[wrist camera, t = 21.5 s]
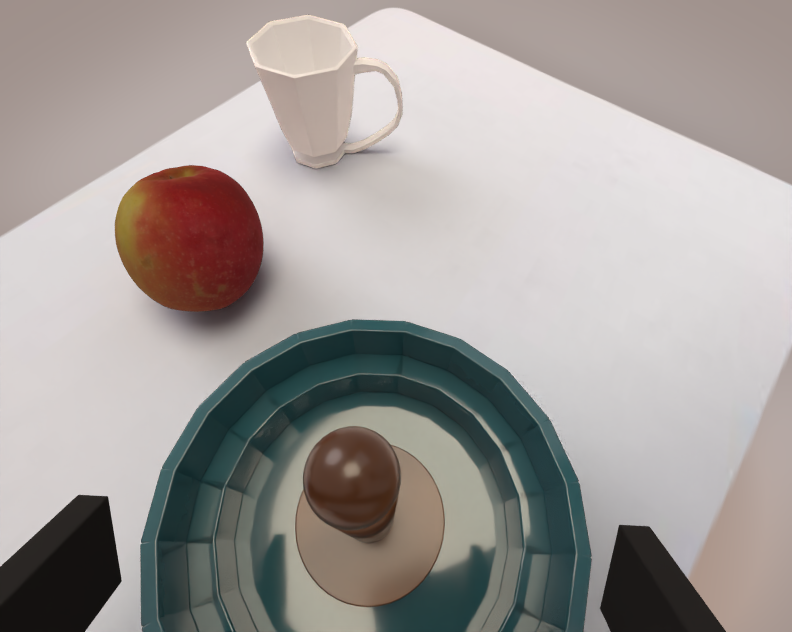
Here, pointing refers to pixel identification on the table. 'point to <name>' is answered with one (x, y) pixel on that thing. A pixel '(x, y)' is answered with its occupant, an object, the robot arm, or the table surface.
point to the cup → (315, 85)
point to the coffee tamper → (367, 518)
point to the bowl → (402, 427)
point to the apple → (190, 238)
